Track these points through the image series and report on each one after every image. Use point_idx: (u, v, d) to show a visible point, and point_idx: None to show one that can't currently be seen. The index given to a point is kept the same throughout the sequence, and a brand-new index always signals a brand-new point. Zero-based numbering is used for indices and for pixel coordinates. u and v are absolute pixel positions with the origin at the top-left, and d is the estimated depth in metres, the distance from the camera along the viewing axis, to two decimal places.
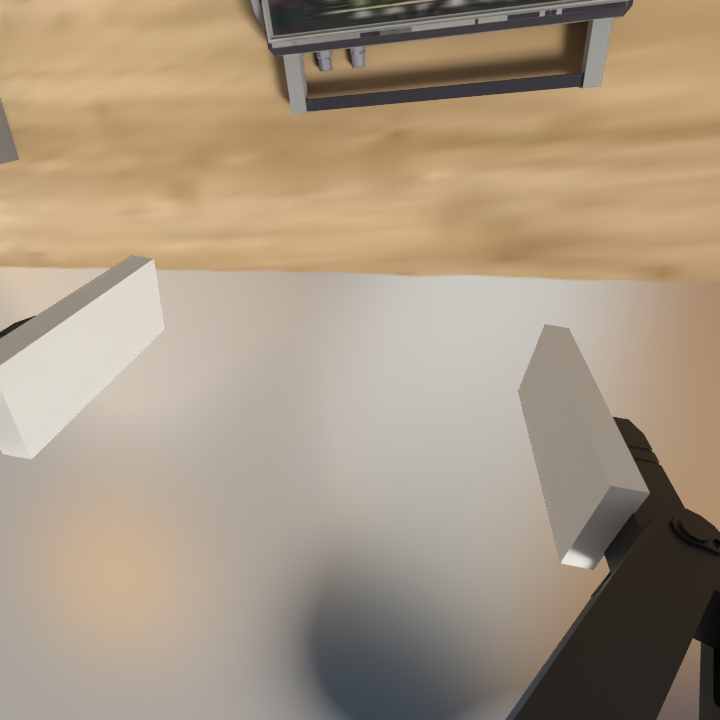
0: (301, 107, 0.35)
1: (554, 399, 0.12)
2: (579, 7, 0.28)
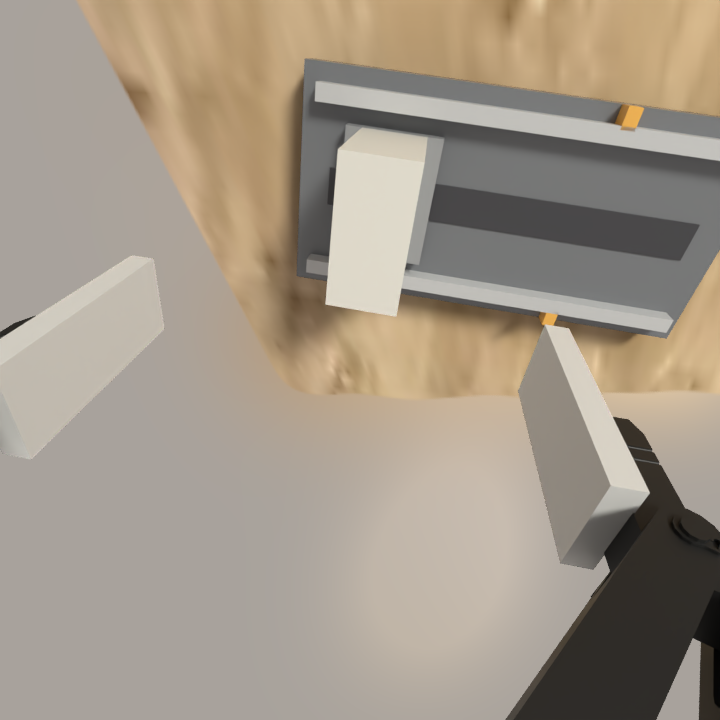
0: None
1: (554, 399, 0.12)
2: None
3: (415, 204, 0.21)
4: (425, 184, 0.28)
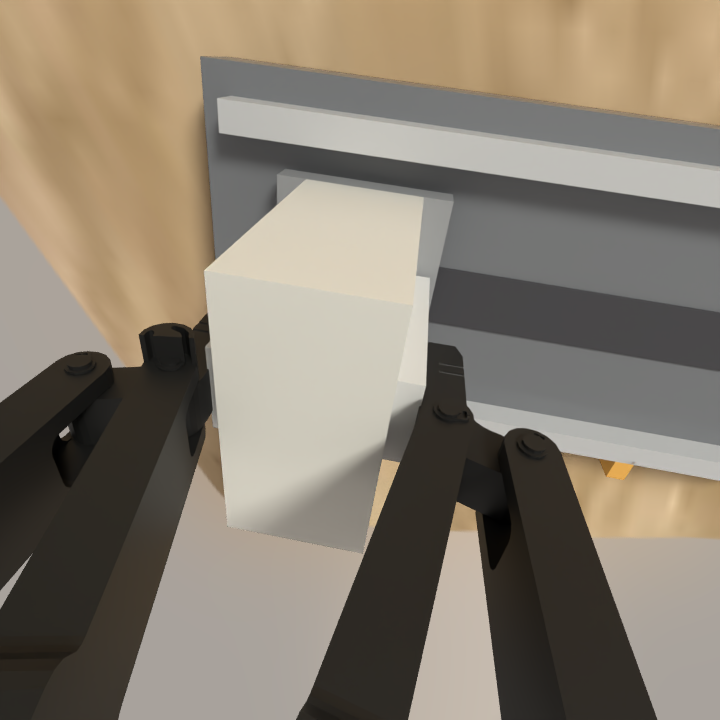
0: None
1: None
2: None
3: (393, 385, 0.09)
4: (419, 272, 0.16)
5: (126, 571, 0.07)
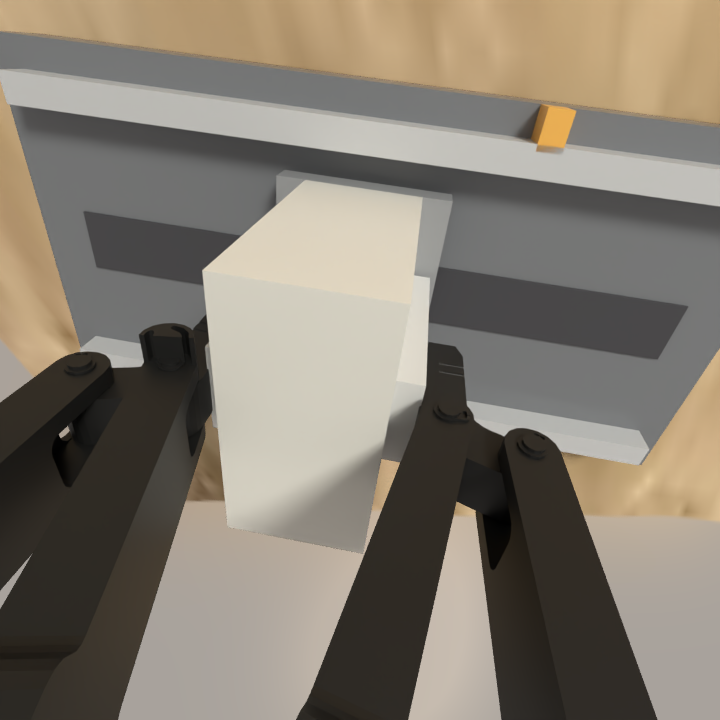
0: None
1: None
2: None
3: (392, 384, 0.09)
4: (419, 273, 0.16)
5: (125, 570, 0.07)
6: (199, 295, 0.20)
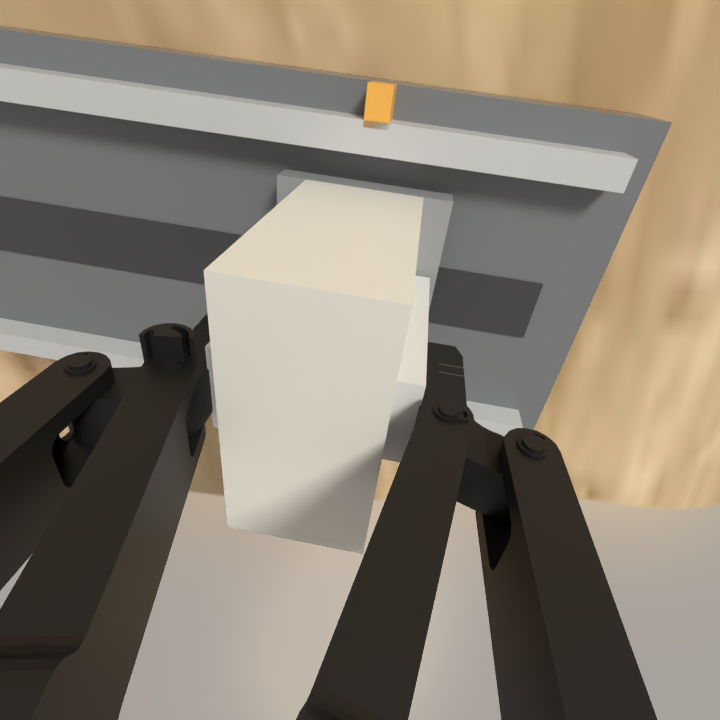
0: None
1: None
2: None
3: (393, 384, 0.09)
4: (419, 273, 0.16)
5: (125, 571, 0.07)
6: (82, 274, 0.20)
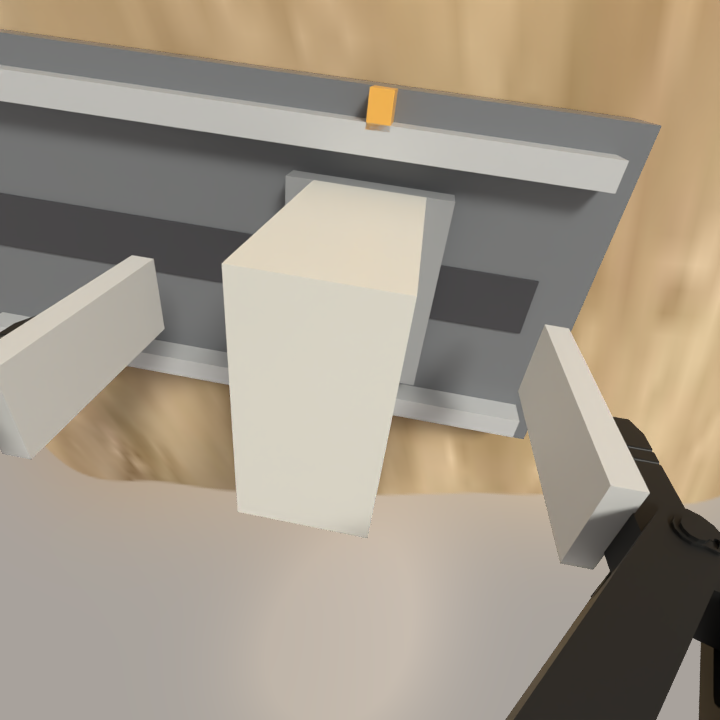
0: None
1: (554, 399, 0.12)
2: None
3: (398, 372, 0.10)
4: (422, 270, 0.17)
5: None
6: (92, 271, 0.21)
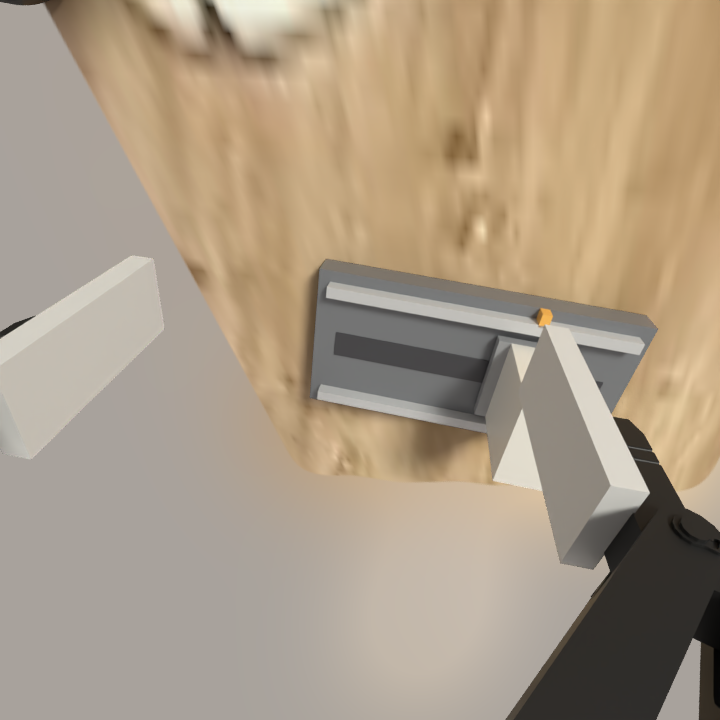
0: None
1: (554, 399, 0.12)
2: None
3: None
4: None
5: None
6: (380, 368, 0.42)
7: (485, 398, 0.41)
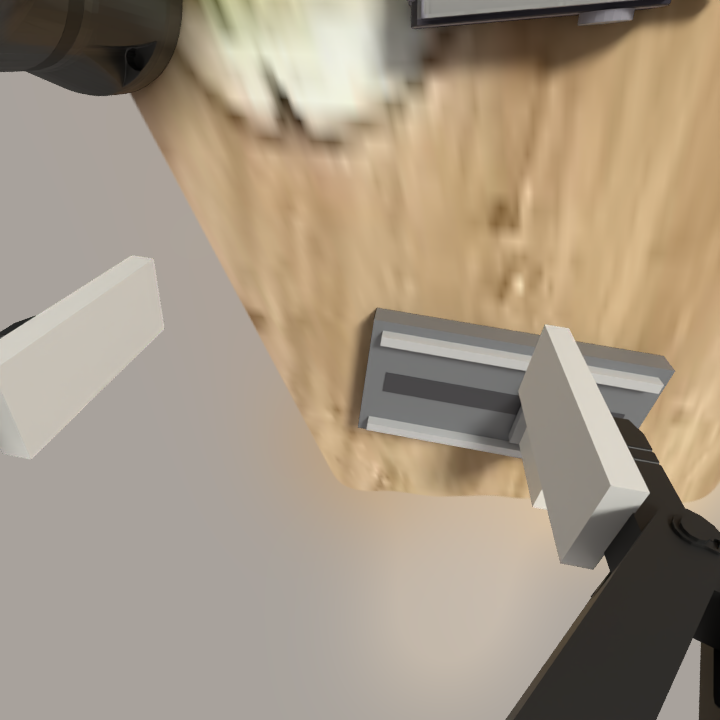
0: None
1: (554, 399, 0.12)
2: None
3: None
4: None
5: None
6: (424, 402, 0.47)
7: (520, 429, 0.46)
